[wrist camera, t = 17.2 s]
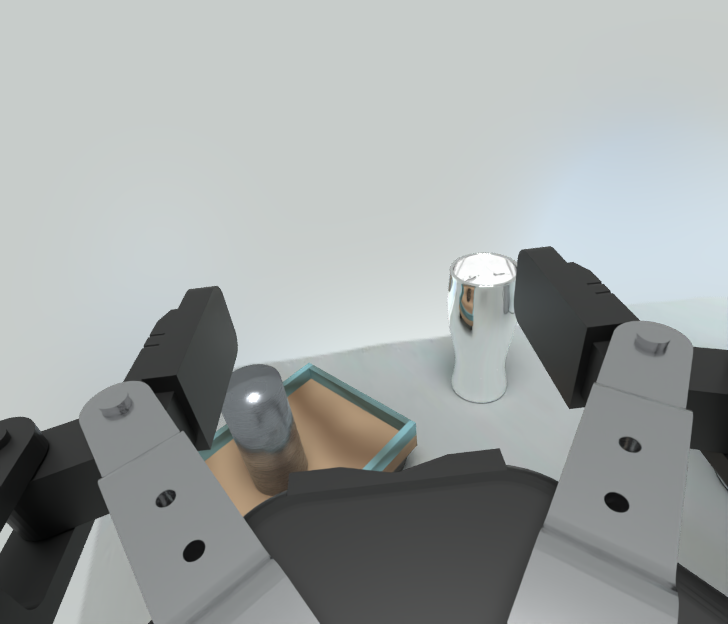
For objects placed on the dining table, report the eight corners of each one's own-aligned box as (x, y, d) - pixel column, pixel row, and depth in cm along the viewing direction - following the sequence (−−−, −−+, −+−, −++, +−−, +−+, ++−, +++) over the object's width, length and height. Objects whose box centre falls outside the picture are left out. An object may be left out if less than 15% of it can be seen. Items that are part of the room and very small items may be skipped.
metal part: (285, 438, 41) (257, 356, 36) (319, 467, 38) (293, 381, 32) (242, 473, 39) (203, 390, 33) (274, 507, 36) (237, 421, 30)
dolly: (318, 402, 51) (309, 362, 48) (418, 465, 43) (415, 422, 39) (154, 537, 39) (127, 497, 36) (248, 660, 31) (224, 623, 28)
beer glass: (434, 382, 52) (432, 268, 43) (476, 355, 55) (481, 244, 46) (480, 416, 47) (488, 296, 38) (524, 385, 50) (539, 267, 41)
